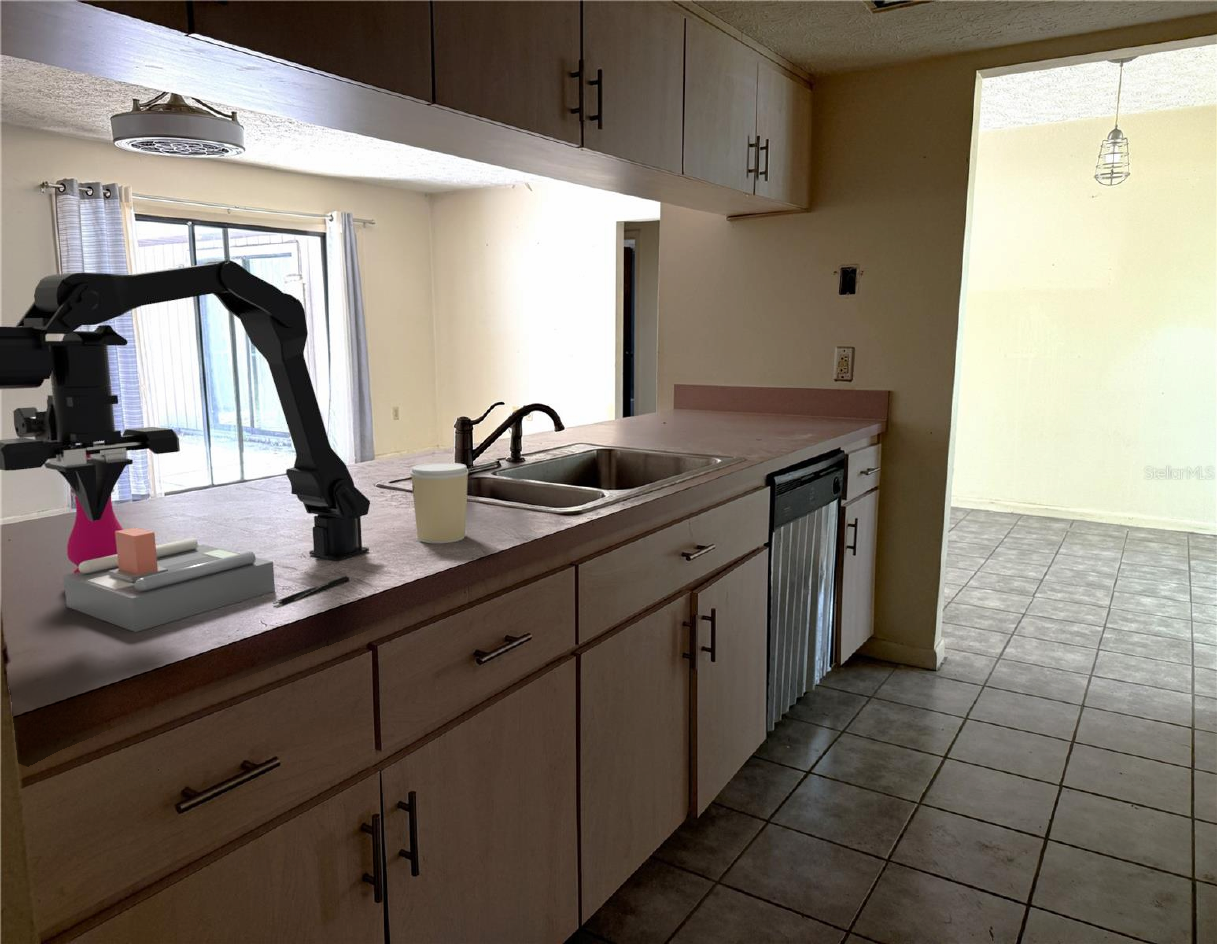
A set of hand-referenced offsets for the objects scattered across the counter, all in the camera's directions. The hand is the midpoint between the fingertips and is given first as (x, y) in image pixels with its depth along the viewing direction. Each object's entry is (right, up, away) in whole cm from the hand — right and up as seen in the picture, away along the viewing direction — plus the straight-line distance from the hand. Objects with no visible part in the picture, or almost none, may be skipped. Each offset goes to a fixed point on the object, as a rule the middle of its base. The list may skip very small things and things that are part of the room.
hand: (94, 520), depth 96 cm
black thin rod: (+21, -11, +11) cm, 27 cm away
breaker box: (+5, -11, +9) cm, 15 cm away
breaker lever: (+2, -7, +5) cm, 9 cm away
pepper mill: (-9, -9, +17) cm, 21 cm away
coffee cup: (+32, -6, +41) cm, 52 cm away
